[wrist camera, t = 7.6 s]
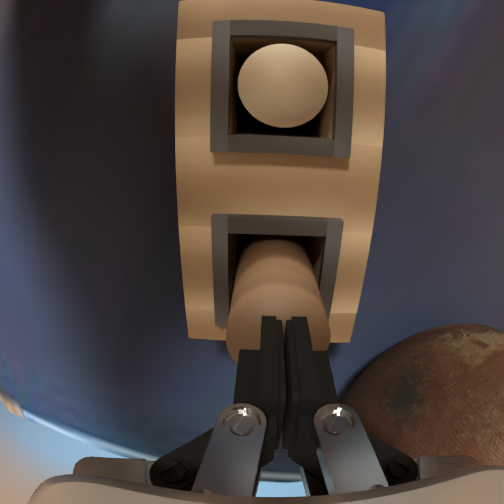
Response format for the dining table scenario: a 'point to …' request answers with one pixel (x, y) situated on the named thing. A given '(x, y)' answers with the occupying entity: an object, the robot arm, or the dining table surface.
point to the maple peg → (282, 85)
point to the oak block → (276, 152)
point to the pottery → (437, 394)
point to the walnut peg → (274, 292)
